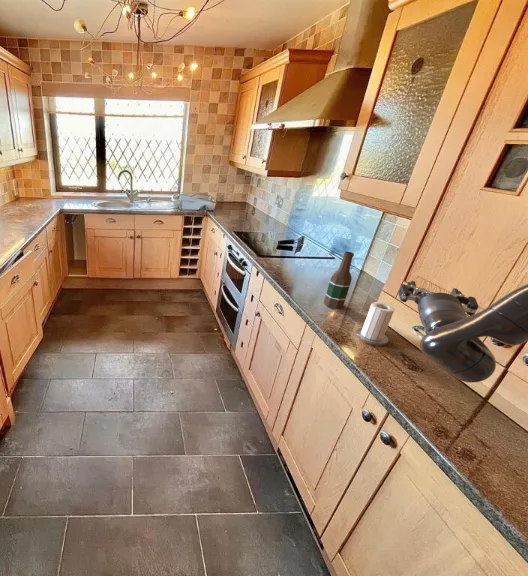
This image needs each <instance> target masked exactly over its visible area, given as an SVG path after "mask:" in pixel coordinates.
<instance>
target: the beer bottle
mask: <svg viewBox="0 0 528 576" xmlns="http://www.w3.org/2000/svg"><path fill="white" fill-rule="evenodd" d="M354 256H355V253H354V252H352V251H344V253H343V254H342V260H341V262H340V264H339V267H338V269H337V270H336V271H334V272H333V274H332V275H331V277H330V279H329V283H328V286H327V290H326V293H325V297H324V300H323V304H324V305H325V306H326V307H327V308H330V309H334V310H340V309H341V310H342V309H343V307H344V304H345V302H346V299H347V296H348V294H349V291H350V287H351V284H352V279H353V278H352V274H351V272H350V269H351V265H352V261H353V257H354Z"/></svg>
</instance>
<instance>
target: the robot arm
mask: <svg viewBox="0 0 528 576" xmlns="http://www.w3.org/2000/svg"><path fill="white" fill-rule="evenodd" d="M397 294H398V297H399V300H400V302H402V303H407V302H408V301H412V302H414V303H415V304H416V305H417V311H418V317H419V319H420V323H421V324H422V326H423V328H424V332H425V334H424V335H423V336H422V337H421V341H420V342H419V350H420V352H421V353H422V354H423V355H424V356H425V357H426V358H428V360H430V361H431V362H433V363H434V364H436V366H438V367H439V368H440V369H442V370H443V371H444V372H446V373H447V374H448V375H450V377H452V378H454V379H456V380H458V381H461V382H463V383H480V382H483V381H485V380H487V379H489V378H490V377H491V376H492V375H493V374H494V373H495V370H496V368H497V361H496V357H495V356H494V354H493V352H492V351H491V350H490V348H489V347H488V346H487V345H486V344H485V343H484V341H482V339H480V338H484V337H488V338H492V339H493V340H495V341H498V342H499V343H502V344H505V345H507V346H513V347H515V346H519V345H522V344H525V343H526V342H528V283H527V284H524V285H522V286H519V287H517V288H515V289H513V290H512V291H510V292H508V293H507V294H505V295H504V296H502V297H501V298H499V299H497V300H496V301H494V302H493V303H492V304H490V305H488V306H486V307H485V308H483V309H482V310H480V311H478V309H479V304H478V301H477V299H476V297H474V296H466V295H465V294H463V293H462V291H460V290H459V289H458V288H455V287H453V288H452V290H451V291H450V293H447V292H435V291H430V290H428V289H426V288H424V287H418V286H417V284H416V281H415V280H411V281H408V282H407V284H403V283H402V284H400V287H399V290H398V292H397ZM477 311H478V312H477Z"/></svg>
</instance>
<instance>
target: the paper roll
mask: <svg viewBox="0 0 528 576" xmlns="http://www.w3.org/2000/svg"><path fill="white" fill-rule="evenodd" d="M382 308H383V309H382ZM394 312H395V307H394V306H393V305H391V304H388V303H385V302H381V301H375V302H372V303H371V304H370V307H369V310H368V313H367V315H366V318H365V320H364V323H363V326H362V327H361V328H362V331H361V333H362V335H363V336H364V337H366V338H368V339H371V340H377V341H378V340H382V339H383V337H384V334H385V335H386V332H387V330H388V327H389V324H390V323H391V319H392V317H393V315H394Z"/></svg>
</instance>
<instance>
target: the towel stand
mask: <svg viewBox="0 0 528 576" xmlns="http://www.w3.org/2000/svg"><path fill="white" fill-rule="evenodd" d="M382 309H383V308H382ZM362 328H363V327H360V328H357V329H356V331H355V336H356V338H357V339H358V340H359V341H361V342H362V343H365V344H367V345H370V346H375V347H384V346H386V345H387V344H388V343H389V337H388V336H387V335H386V333H385V334H384V337H383V339H382V340H378V341H377V340H371V339H368V338H366V337H364V336H363V335H362V333H361V331H362Z"/></svg>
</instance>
